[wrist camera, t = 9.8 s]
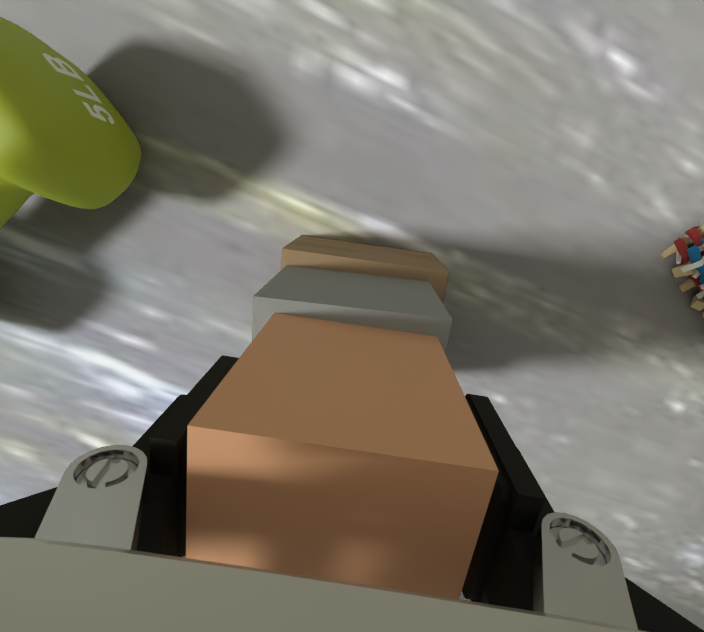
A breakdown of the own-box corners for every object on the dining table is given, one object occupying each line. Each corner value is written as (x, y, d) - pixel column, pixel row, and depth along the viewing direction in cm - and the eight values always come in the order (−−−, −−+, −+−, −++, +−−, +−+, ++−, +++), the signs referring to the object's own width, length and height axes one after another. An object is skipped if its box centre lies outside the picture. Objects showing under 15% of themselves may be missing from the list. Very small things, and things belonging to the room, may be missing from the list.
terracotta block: (407, 471, 14) (434, 677, 8) (263, 450, 14) (184, 641, 8) (437, 336, 12) (498, 471, 6) (274, 312, 12) (187, 425, 6)
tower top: (407, 406, 18) (420, 482, 14) (279, 391, 18) (248, 462, 14) (428, 281, 17) (452, 318, 12) (286, 265, 17) (253, 296, 12)
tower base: (408, 370, 23) (418, 416, 19) (291, 354, 23) (271, 396, 19) (431, 253, 21) (449, 271, 16) (301, 235, 21) (282, 248, 16)
